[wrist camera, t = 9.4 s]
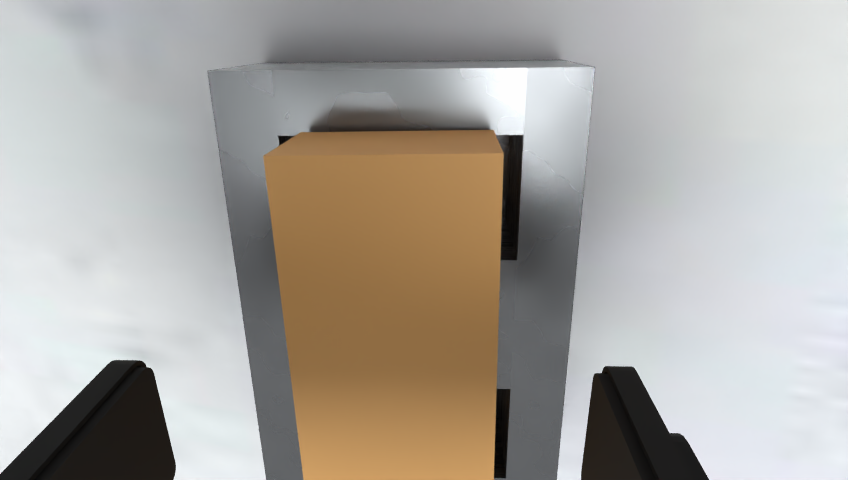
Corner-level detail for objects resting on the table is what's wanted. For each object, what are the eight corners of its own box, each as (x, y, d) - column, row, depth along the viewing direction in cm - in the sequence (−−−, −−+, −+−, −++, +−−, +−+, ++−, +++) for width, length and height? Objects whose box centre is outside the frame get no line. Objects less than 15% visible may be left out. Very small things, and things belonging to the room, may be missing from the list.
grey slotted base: (263, 62, 18) (207, 70, 14) (561, 60, 18) (595, 66, 14) (303, 425, 24) (270, 509, 20) (535, 430, 23) (552, 518, 19)
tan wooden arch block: (332, 112, 18) (262, 155, 11) (485, 109, 18) (503, 153, 11) (356, 413, 22) (315, 571, 16) (479, 415, 22) (490, 577, 15)
